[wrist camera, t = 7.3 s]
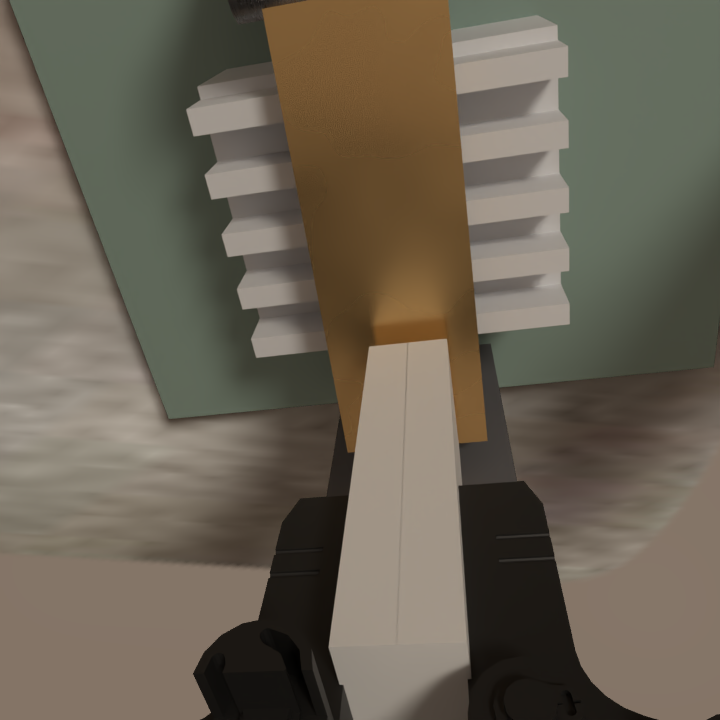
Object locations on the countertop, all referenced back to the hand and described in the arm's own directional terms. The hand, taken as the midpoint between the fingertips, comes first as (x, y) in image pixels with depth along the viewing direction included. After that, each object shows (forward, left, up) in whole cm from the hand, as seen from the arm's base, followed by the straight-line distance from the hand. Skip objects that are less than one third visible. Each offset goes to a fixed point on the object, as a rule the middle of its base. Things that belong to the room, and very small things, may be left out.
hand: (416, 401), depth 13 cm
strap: (0, +3, -2) cm, 4 cm away
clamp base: (0, +3, -7) cm, 7 cm away
